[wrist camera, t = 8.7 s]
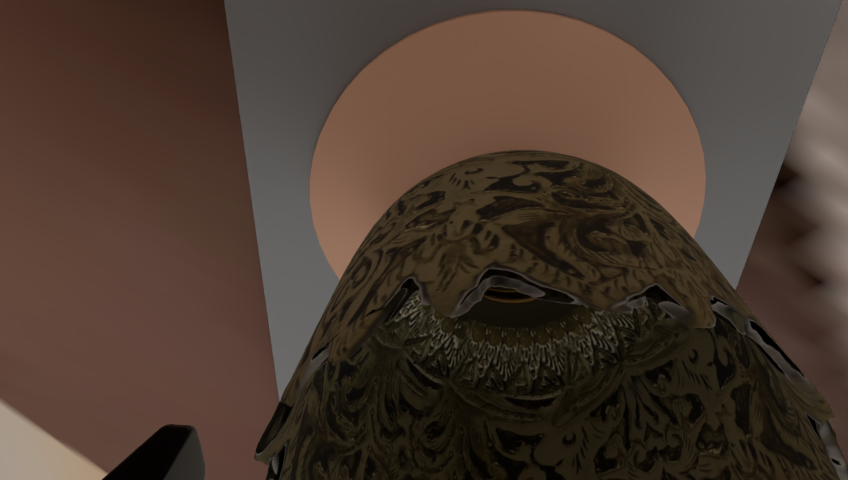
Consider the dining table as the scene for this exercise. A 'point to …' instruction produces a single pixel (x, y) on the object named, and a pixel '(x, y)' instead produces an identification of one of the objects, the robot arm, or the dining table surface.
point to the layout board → (506, 114)
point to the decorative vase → (542, 345)
